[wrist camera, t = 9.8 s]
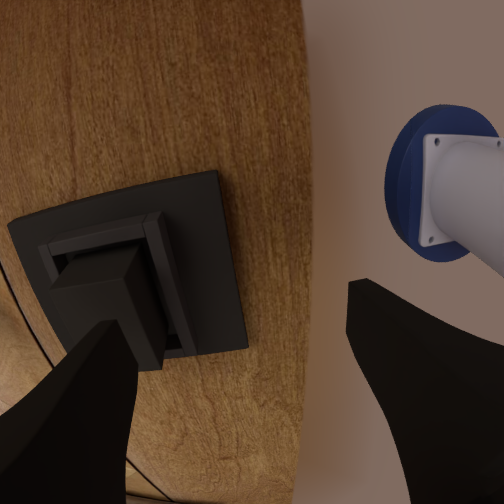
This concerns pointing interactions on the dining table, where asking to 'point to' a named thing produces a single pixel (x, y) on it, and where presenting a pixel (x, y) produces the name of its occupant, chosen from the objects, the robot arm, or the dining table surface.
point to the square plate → (144, 501)
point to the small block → (114, 300)
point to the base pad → (148, 255)
